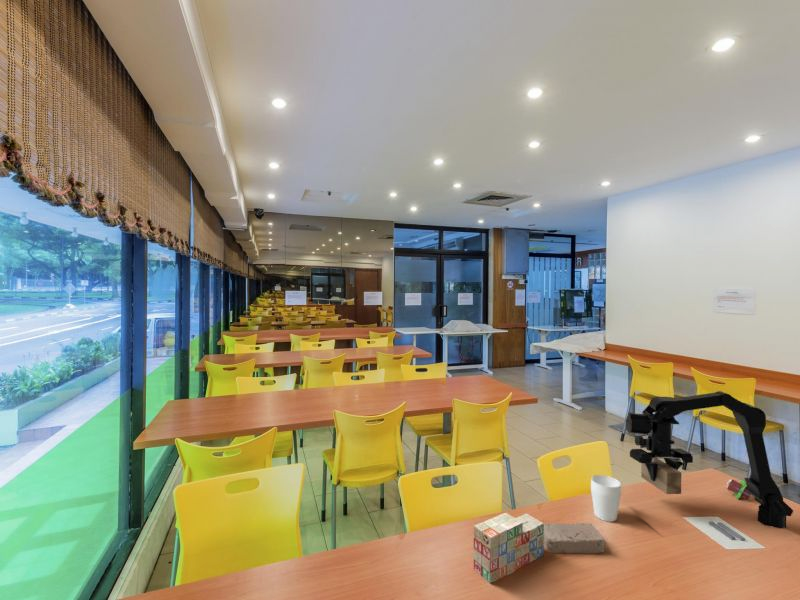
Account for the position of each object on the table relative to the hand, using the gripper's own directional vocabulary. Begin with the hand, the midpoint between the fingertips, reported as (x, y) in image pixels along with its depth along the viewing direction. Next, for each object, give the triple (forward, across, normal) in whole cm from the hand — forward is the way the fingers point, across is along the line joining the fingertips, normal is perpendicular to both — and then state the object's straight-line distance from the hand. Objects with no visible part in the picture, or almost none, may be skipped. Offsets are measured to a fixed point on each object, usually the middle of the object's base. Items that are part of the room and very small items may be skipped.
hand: (660, 480), depth 131 cm
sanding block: (+2, 0, 0) cm, 2 cm away
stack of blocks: (+12, +60, +22) cm, 65 cm away
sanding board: (+11, -10, +13) cm, 20 cm away
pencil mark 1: (+10, -10, +13) cm, 19 cm away
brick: (+12, +39, +15) cm, 44 cm away
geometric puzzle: (+12, -38, -9) cm, 41 cm away
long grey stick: (+10, -12, +14) cm, 21 cm away
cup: (+12, +20, +1) cm, 23 cm away
